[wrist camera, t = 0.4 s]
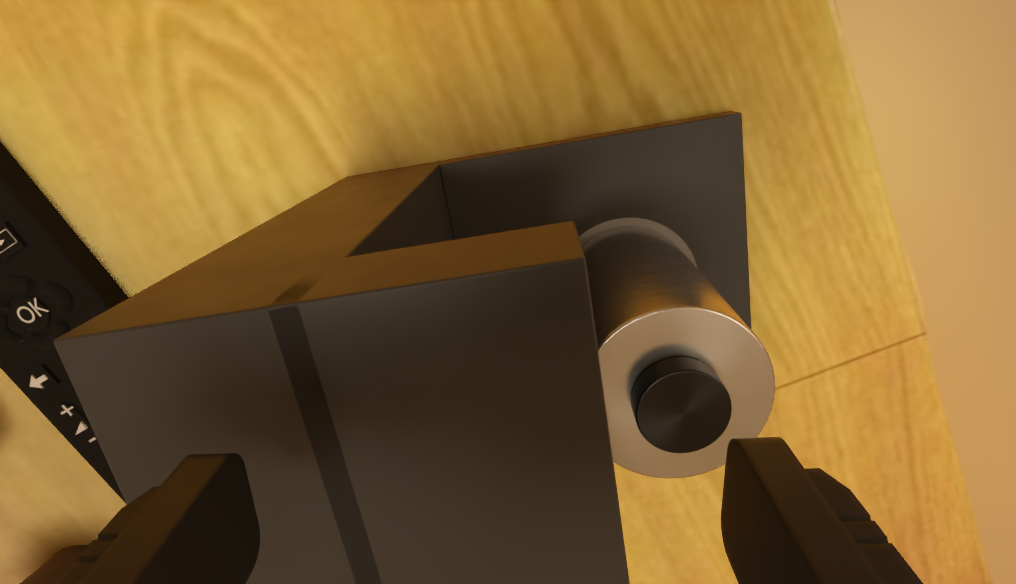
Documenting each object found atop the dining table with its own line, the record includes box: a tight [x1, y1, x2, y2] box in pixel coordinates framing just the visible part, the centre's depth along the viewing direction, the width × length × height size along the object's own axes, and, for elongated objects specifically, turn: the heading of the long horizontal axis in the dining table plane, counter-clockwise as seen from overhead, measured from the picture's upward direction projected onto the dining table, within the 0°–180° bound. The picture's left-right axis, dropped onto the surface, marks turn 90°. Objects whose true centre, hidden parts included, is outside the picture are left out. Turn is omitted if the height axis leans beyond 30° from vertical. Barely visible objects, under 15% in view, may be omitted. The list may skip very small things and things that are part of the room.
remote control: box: [0, 142, 128, 503], centre depth 33 cm, size 8×32×2 cm, turn 30°
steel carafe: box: [581, 226, 775, 478], centre depth 25 cm, size 6×6×12 cm
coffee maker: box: [54, 111, 751, 584], centre depth 23 cm, size 19×15×20 cm
